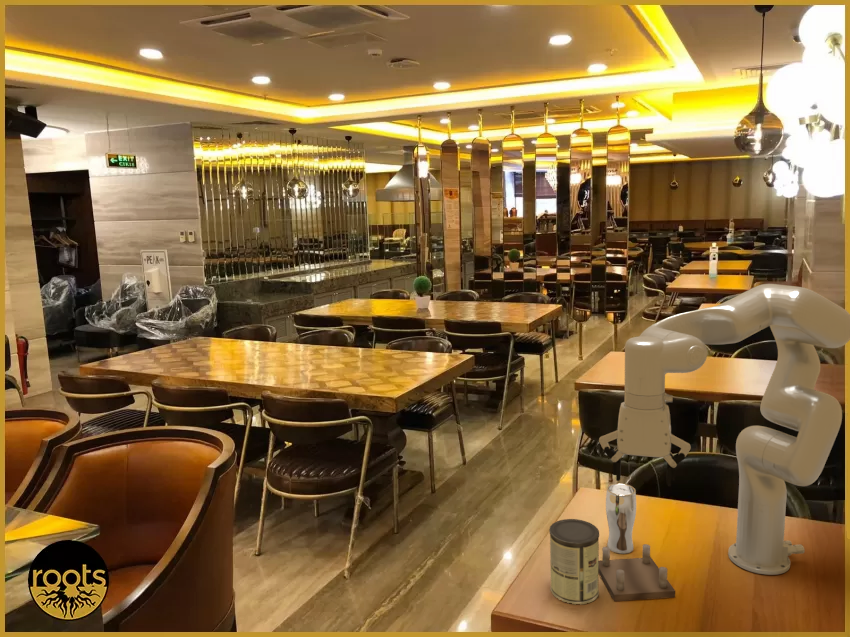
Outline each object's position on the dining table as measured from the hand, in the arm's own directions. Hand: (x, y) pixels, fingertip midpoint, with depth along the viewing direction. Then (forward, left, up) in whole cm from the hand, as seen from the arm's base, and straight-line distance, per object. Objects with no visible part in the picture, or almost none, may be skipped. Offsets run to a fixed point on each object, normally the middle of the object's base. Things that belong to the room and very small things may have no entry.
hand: (643, 480), depth 129 cm
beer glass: (-3, -21, -27) cm, 34 cm away
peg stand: (-1, -7, -27) cm, 28 cm away
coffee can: (+13, -5, -27) cm, 30 cm away
